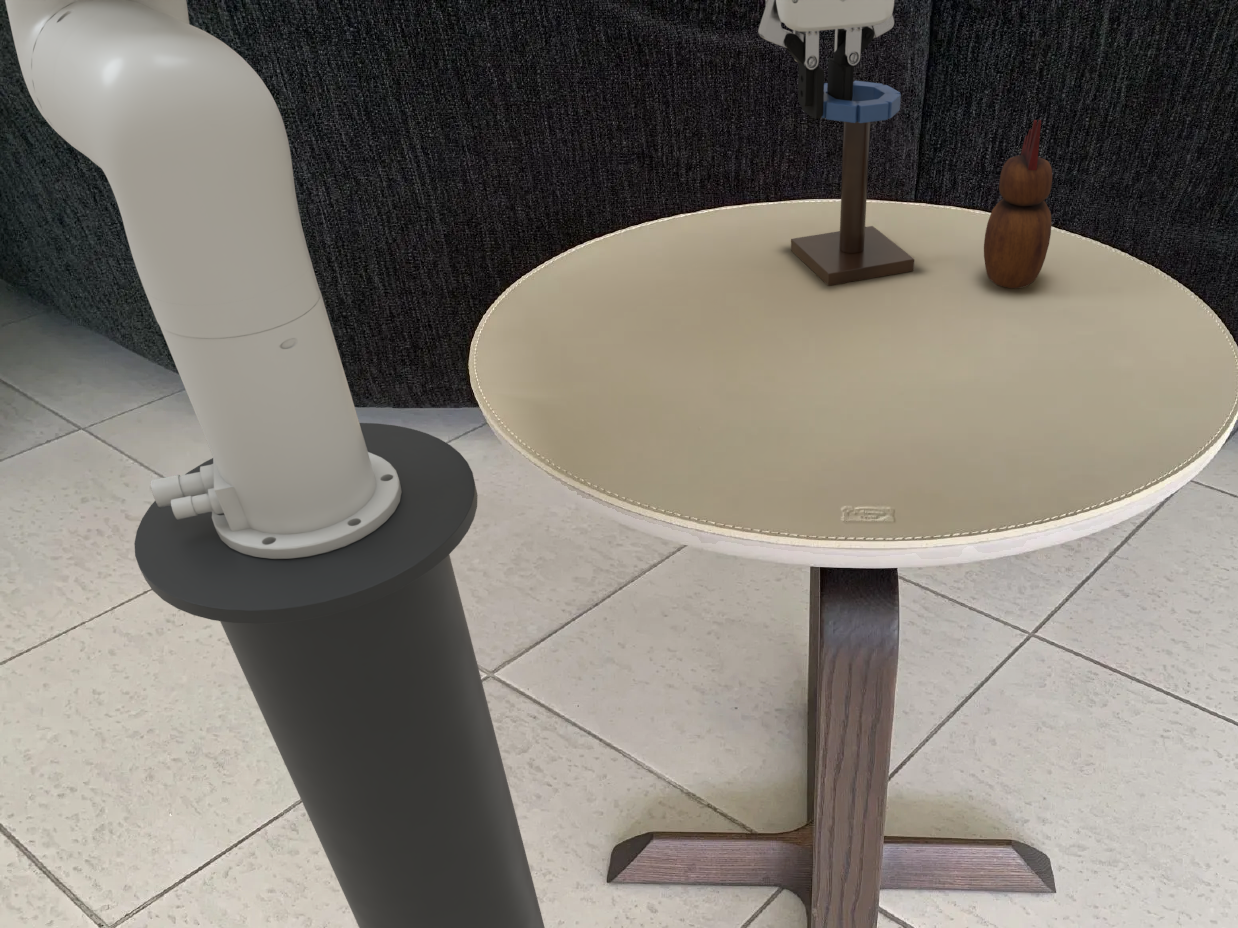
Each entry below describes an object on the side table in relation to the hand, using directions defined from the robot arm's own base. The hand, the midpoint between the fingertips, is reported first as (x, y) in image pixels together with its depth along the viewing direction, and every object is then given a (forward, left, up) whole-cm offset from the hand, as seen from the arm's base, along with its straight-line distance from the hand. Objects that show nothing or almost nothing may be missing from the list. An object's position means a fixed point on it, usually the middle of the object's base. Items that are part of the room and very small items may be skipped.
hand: (825, 111), depth 94 cm
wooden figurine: (+15, -10, -14) cm, 23 cm away
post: (+3, 0, -14) cm, 15 cm away
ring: (+3, 0, 0) cm, 3 cm away
